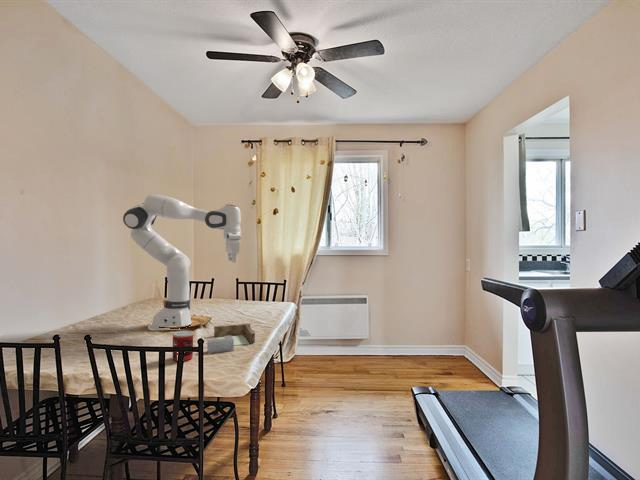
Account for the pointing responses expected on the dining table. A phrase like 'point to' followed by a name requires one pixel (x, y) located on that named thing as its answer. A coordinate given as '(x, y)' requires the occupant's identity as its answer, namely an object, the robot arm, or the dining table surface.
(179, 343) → the canned food
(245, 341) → the pad
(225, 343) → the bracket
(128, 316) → the dining table surface
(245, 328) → the arena
